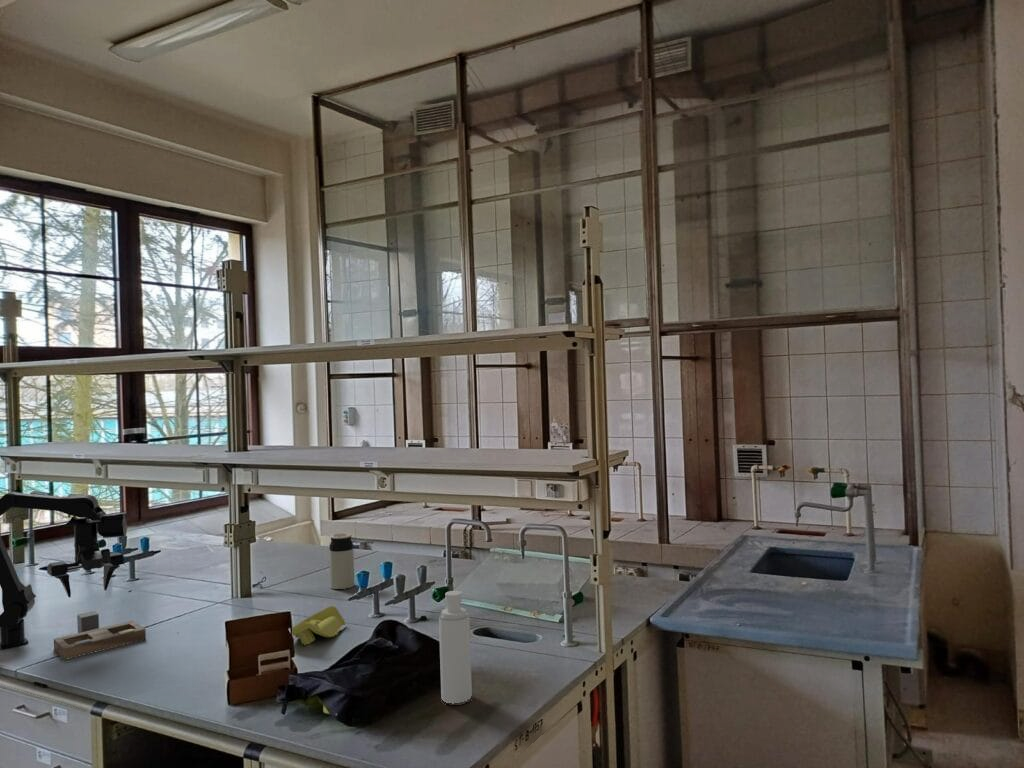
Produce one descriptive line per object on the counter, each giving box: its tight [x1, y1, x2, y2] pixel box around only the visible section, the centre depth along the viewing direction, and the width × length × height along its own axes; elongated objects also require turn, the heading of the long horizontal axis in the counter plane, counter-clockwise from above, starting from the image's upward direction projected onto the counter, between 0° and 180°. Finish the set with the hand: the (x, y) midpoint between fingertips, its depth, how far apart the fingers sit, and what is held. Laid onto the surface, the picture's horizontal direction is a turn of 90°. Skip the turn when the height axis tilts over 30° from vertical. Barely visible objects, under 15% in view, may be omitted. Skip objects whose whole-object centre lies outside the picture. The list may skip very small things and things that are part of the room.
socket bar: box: [53, 620, 147, 660], centre depth 203 cm, size 11×20×3 cm, turn 134°
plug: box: [76, 610, 100, 633], centre depth 211 cm, size 4×4×6 cm
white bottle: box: [438, 590, 473, 704], centre depth 161 cm, size 7×7×25 cm
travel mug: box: [329, 532, 355, 590], centre depth 253 cm, size 8×8×18 cm
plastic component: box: [291, 605, 347, 645], centre depth 203 cm, size 20×7×10 cm
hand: (87, 593), depth 211 cm, fingers open, 9 cm apart
